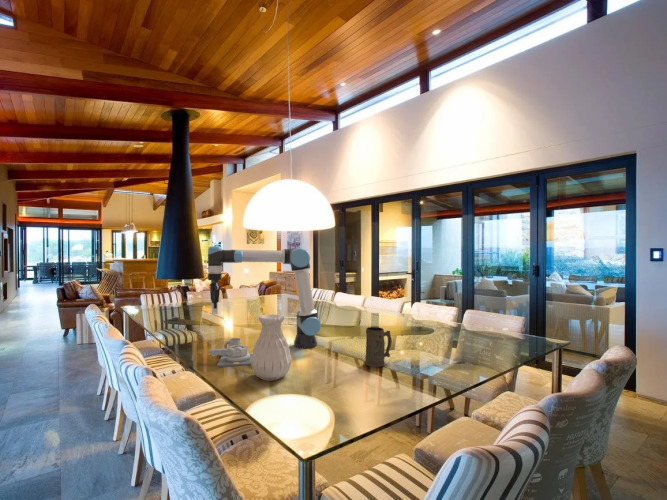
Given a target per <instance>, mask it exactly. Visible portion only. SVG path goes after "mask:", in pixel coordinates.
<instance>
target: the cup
mask: <svg viewBox="0 0 667 500" xmlns="http://www.w3.org/2000/svg"><path fill="white" fill-rule="evenodd" d="M233 345H237V346H238V347H239V346H240V345H242V339H241V338H240V337H233V338H231V337H230V338H228V340H227V341H225V343H224V345H223V346H224V347H223V349H228V347H229V346H233Z"/></svg>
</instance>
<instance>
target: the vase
mask: <svg viewBox="0 0 667 500" xmlns="http://www.w3.org/2000/svg"><path fill="white" fill-rule="evenodd" d="M284 320H285V317H284V315H282V314H264V315H260V316H259V317H258V321H259V322H260V324H261V330H260V334H259V336H258V338H257V340H256V342H255V345H254V347H253V350H252V354H253V356H252V359H251V365H250V366H251V368H252V371H253V373H254V375H255V376H256V377H258V378H260V380H261V379H262V380H263V381H268V382H269V381H277V380H280V379H281V378H282V379H283V377H284V376H286V375H287V374H288V373H289V371H290V368H291V364H292V361H293V359H292V355H291V352H290V351H291V350H290V346H289V344H288V342H287V339H286V337H285V336H284V333H283V330H282V323H283V322H284Z"/></svg>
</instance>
